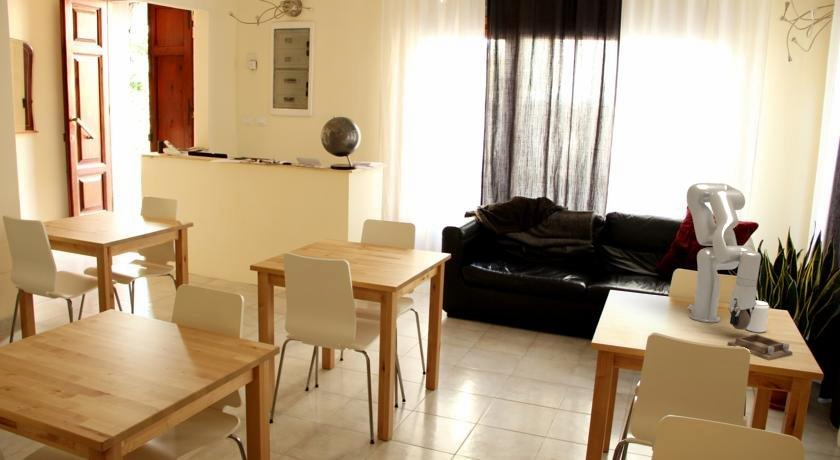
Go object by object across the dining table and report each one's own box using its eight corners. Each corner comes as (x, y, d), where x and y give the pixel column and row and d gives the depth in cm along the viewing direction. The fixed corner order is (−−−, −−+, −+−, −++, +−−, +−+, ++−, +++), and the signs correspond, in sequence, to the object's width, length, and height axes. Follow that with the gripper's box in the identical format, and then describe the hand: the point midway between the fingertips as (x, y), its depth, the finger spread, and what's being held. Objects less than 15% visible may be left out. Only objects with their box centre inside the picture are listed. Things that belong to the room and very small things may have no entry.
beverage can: (757, 334, 299) (760, 306, 297) (740, 328, 306) (743, 300, 304) (770, 332, 303) (773, 304, 301) (753, 326, 310) (756, 299, 308)
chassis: (727, 344, 284) (728, 334, 283) (750, 340, 291) (751, 330, 290) (768, 360, 269) (770, 349, 268) (792, 354, 276) (793, 344, 275)
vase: (750, 331, 291) (753, 311, 289) (731, 329, 292) (735, 309, 290) (746, 326, 297) (749, 305, 295) (728, 324, 299) (731, 303, 297)
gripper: (752, 276, 298) (745, 317, 302) (724, 281, 289) (717, 323, 293) (768, 281, 291) (761, 323, 295) (740, 286, 283) (733, 329, 287)
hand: (739, 323), depth 294 cm, fingers closed on vase, 6 cm apart
